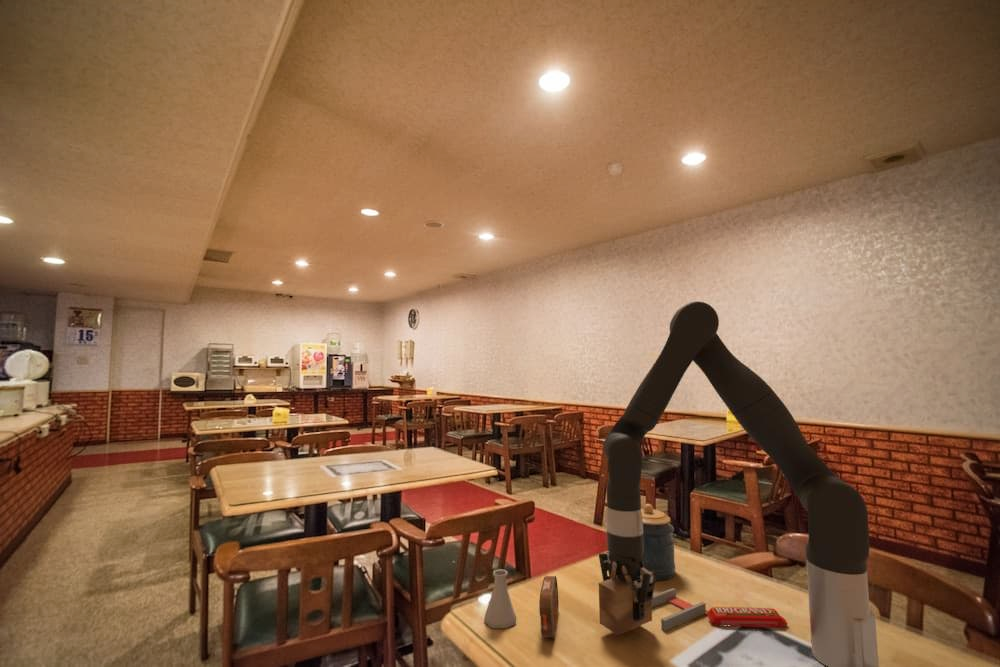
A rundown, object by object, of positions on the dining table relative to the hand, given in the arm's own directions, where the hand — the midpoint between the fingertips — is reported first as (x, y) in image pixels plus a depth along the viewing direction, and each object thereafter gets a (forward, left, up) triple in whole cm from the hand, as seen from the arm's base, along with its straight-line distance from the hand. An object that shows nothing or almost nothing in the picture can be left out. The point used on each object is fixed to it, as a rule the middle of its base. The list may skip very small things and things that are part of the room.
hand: (627, 613), depth 93 cm
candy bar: (-11, -24, -4) cm, 27 cm away
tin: (+10, +13, -4) cm, 17 cm away
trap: (0, -19, -3) cm, 19 cm away
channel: (0, -13, -3) cm, 14 cm away
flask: (+17, +21, -4) cm, 27 cm away
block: (0, +1, -2) cm, 2 cm away
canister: (+17, -27, -4) cm, 33 cm away
